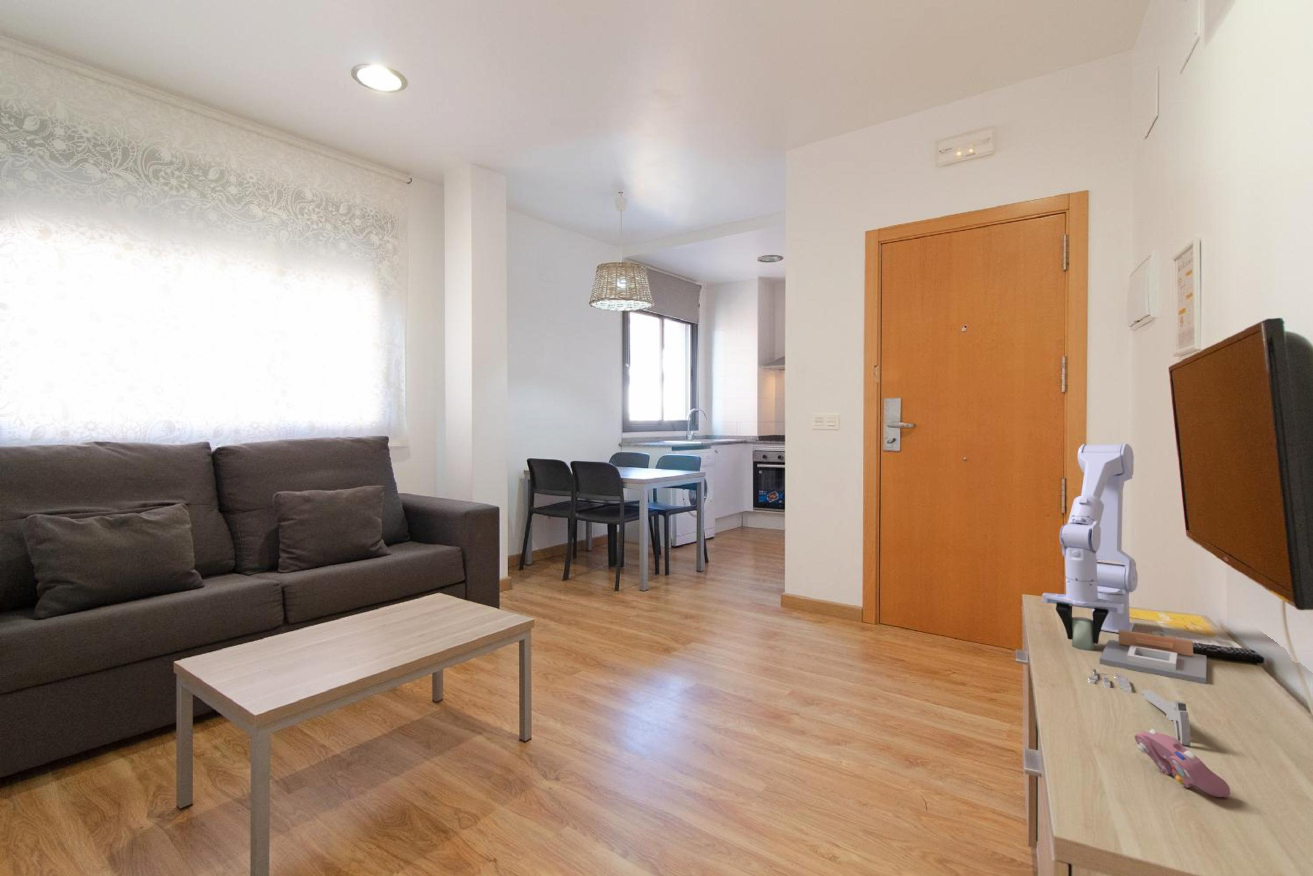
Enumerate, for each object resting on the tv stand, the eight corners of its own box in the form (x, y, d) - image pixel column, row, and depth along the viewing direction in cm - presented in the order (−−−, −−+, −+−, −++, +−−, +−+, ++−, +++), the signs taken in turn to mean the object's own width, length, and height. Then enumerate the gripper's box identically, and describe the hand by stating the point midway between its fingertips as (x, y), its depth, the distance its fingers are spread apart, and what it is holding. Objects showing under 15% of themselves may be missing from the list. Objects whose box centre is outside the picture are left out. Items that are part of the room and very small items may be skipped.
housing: (1109, 644, 133) (1108, 634, 134) (1206, 660, 123) (1206, 649, 123) (1099, 663, 122) (1099, 653, 122) (1206, 683, 112) (1205, 672, 112)
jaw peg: (1073, 642, 135) (1072, 615, 135) (1095, 646, 132) (1094, 619, 132) (1070, 647, 132) (1069, 620, 132) (1093, 651, 129) (1092, 623, 129)
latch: (1119, 642, 131) (1119, 629, 131) (1193, 654, 123) (1192, 640, 123) (1118, 645, 129) (1117, 632, 129) (1192, 657, 121) (1192, 644, 121)
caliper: (1191, 749, 90) (1190, 707, 90) (1181, 747, 90) (1180, 706, 90) (1148, 695, 108) (1146, 660, 108) (1140, 694, 109) (1139, 659, 109)
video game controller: (1145, 771, 87) (1121, 728, 87) (1173, 756, 87) (1150, 713, 87) (1206, 813, 77) (1179, 765, 77) (1238, 797, 77) (1211, 748, 77)
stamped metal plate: (1131, 695, 109) (1131, 687, 109) (1084, 688, 113) (1084, 680, 113) (1126, 680, 116) (1125, 672, 116) (1082, 673, 119) (1081, 666, 119)
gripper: (1038, 577, 134) (1040, 638, 134) (1120, 587, 124) (1122, 652, 124) (1045, 571, 139) (1047, 630, 139) (1124, 580, 130) (1126, 643, 129)
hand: (1083, 640), depth 132 cm, fingers closed on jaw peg, 4 cm apart
